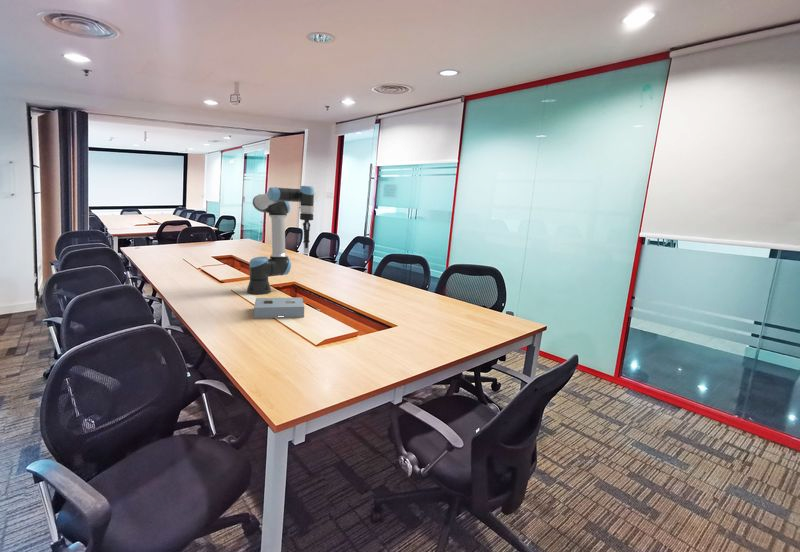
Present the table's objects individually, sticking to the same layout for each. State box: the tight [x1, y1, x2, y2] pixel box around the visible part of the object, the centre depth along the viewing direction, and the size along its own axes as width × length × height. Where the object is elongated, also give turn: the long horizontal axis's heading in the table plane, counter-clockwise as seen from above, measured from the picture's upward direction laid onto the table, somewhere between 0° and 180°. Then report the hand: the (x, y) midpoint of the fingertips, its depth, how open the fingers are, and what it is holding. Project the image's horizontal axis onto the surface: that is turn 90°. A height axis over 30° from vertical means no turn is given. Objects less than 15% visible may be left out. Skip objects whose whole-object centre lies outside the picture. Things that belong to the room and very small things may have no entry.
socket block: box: [253, 296, 305, 319], centre depth 224 cm, size 20×26×6 cm
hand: (306, 253), depth 234 cm, fingers closed
